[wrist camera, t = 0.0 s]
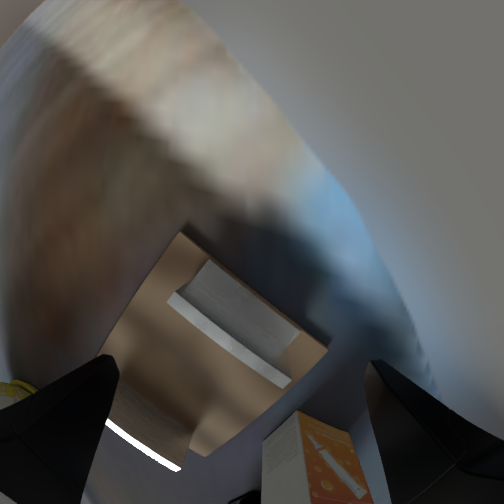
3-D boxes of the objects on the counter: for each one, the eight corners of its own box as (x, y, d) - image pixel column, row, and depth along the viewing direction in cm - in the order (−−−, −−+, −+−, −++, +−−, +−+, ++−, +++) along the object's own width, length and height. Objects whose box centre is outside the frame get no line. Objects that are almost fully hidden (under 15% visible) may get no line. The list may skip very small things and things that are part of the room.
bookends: (180, 442, 25) (167, 477, 19) (110, 391, 25) (85, 419, 19) (300, 330, 23) (310, 361, 17) (210, 258, 23) (191, 268, 17)
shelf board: (206, 453, 26) (204, 457, 25) (91, 368, 25) (88, 371, 25) (327, 346, 24) (328, 350, 23) (182, 231, 24) (179, 231, 23)
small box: (349, 431, 25) (380, 514, 12) (313, 461, 25) (327, 541, 12) (296, 407, 25) (311, 505, 12) (260, 440, 25) (257, 532, 12)
